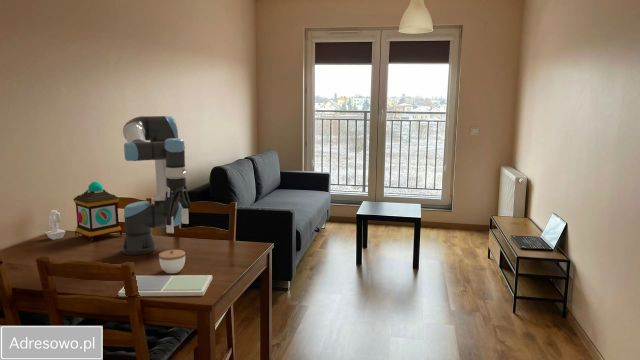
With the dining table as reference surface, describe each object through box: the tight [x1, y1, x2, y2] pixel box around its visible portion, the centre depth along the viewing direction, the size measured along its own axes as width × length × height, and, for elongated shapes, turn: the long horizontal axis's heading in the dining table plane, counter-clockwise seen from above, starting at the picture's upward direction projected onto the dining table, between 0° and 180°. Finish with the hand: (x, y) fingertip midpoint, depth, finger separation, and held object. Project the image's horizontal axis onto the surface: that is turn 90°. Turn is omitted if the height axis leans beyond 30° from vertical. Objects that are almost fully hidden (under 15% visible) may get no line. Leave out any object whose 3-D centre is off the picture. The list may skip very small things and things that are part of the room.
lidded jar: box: [158, 249, 186, 274], centre depth 198 cm, size 11×11×9 cm
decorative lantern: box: [72, 180, 123, 243], centre depth 248 cm, size 20×20×30 cm
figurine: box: [44, 209, 66, 241], centre depth 246 cm, size 7×9×15 cm
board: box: [118, 274, 213, 297], centre depth 181 cm, size 31×17×2 cm, turn 92°
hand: (178, 228), depth 193 cm, fingers open, 13 cm apart
